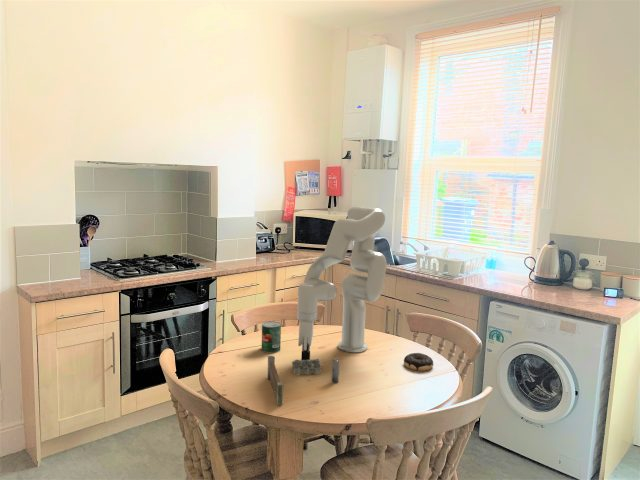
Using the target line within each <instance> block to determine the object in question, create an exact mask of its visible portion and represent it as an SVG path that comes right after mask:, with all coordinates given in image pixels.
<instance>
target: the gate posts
mask: <svg viewBox="0 0 640 480" xmlns="http://www.w3.org/2000/svg"><path fill="white" fill-rule="evenodd" d="M275 357H276V356H274V355H270V356H268V357H267V380H268V381H269V380H270V362H274V365H275ZM331 364H332V366H331V383H332V384H338V383H339V375H340V372H339V371H340V359H336V358H334V359H332V361H331ZM275 366H276V365H275ZM270 381H271V380H270Z"/></svg>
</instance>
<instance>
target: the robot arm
mask: <svg viewBox="0 0 640 480" xmlns="http://www.w3.org/2000/svg"><path fill="white" fill-rule="evenodd" d="M385 221H386V216H385V212H384V211H383V210H381V209H380V208H374V207H366V206H352V207H350V208H348V210H347V218H339V219H337V220H336V221H335V222H334V224H333V226H332V229H331V232H330V235H329V237H328V240H327V243H326V246H325V249H324V251H323V253H322V254H321V255H319V257H317V258H316V259H315V260H314V261H313V263H312V264H311V265H310V266H309V268H308V269H307V271H306V275H305V277H304V280H303V282H302V283H300V284H299V285H298V288H297V289H298V290H297V313H296V314H297V318H296V319H297V321H299V324H298V325H299V326H298V327H299V328H298V347H301V360H311V346H312V342H313V336H314V322H316V321H317V320H318V303H319V302H330V301H333V299H335V298H336V297H337V294H338V288H337V287H336V285H335V284H334V283H332V282H330V281H327V280H322V279H320V278H321V276H322V273H323V272H324V271H325V270H326V269H327V268H329V267H331V266H333V265H336V264H339V263H341V262H343V261H345V259H346V256H347V253H348V249H349V246H350V243H351V242H353V245H352V251H351V255H350V256H351V257H350V261H349V264H350V268H351V269H352V270H354V271H356V272H359V273H362V274H367V276H364V275H361V274H355V273H352V274H350V273H349V274H347V275H345V276H344V277H343V279H342V282H341V292H342V293H341V294H342V301H343V302H342V303H343V304H342V321H341V322H342V324H341V327H342V328H341V340H340V341H339V342H338V343H337V348H338V349H339V350H341V351H343V352H348V353H362V352H366V350H367V349H368V344H367V343H366V342H365V331H366V330H365V328H366V303H365V302H369V303H371V302H372V303H373V302H375V301H378V299H380V296H381V295H382V290H383V286H384V282H385V276H386V272H387V266H388V265H387V258H386V257H385V255H384V254H383V253H381V252H378V251H374V248H375V241H376V237H375V233H376V232H378V231H380V230H381V228H382V227H383V226H384V224H385Z"/></svg>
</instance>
